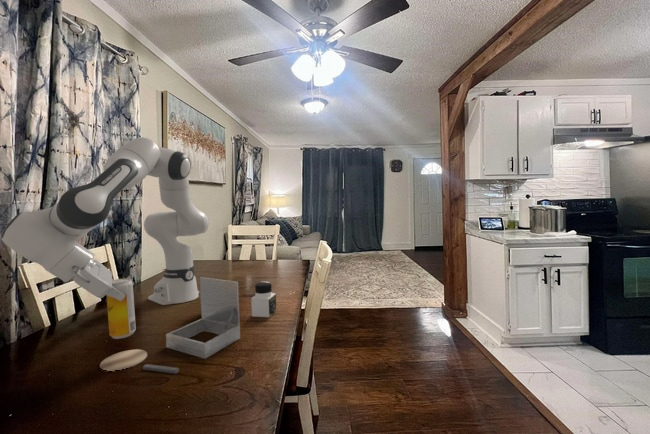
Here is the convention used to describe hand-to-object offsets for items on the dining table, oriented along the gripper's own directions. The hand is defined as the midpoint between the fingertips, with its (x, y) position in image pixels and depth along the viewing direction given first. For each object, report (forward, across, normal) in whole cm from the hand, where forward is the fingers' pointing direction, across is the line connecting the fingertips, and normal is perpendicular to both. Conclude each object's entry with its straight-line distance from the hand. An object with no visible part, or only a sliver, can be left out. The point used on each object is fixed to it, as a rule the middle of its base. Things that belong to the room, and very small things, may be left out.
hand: (122, 294), depth 86 cm
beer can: (+8, 0, +8) cm, 11 cm away
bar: (+18, -12, +8) cm, 23 cm away
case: (+27, -2, -1) cm, 27 cm away
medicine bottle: (+45, +9, -19) cm, 49 cm away
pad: (+13, 0, +13) cm, 18 cm away
